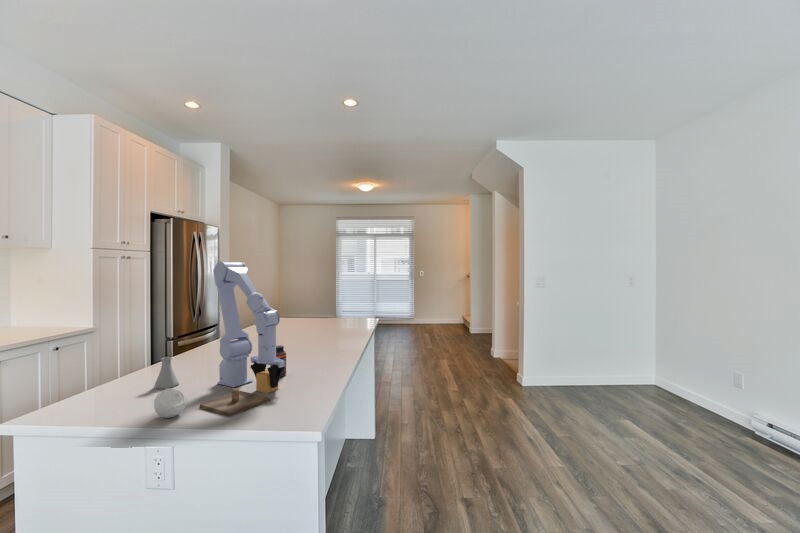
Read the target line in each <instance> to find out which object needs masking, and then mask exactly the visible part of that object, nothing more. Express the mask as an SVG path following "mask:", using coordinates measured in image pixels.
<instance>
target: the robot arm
mask: <svg viewBox="0 0 800 533" xmlns="http://www.w3.org/2000/svg"><path fill="white" fill-rule="evenodd" d="M212 273H213V278H214V283H215V286H216V290H217V294H218V299H219V304H220V305H219V306H220V311H221V315H222V321H223V326H224V330H225V334H224V335H223V336H222V337H221V338H220V339H219V346H220V347H219V354H220V356H221V358H222V359H221V361H220V363H219V370H218V371H219V381H218V382H217V383H216V384H218V385H221V386H222V385H223V386H227V387H232V388H237V387H239V386H242V385H246V384H248V383H251V382H253V381H254V380H253V379H249V378H248V358H249V357H250V363H252V364H251V365H250V369H251V370H252V372H253V374H254V376H255V378H256V373H259V372H262V371H265V370H268V372H269V375H270V383H271V388H275V387H277V385H278V386H279V381H280V379H281V377H280V375H281V373H282V371H283V369H284V366H285V361H284V360H281V359H278V358H276V346H277V326H278V325H279V323H280V320H281V318H280V317H281V316H280V314H279V311H278V310H276V309H273V307H270V305H269V303H268V302H267V300H266V299H265V297H264V295H263V294H262V293H260V292H257V291H256V288H255V287H254V285H253V283H252V281H251V279H250V277H249V275H248V273H249V268H248V267H247V265H246V263H245V262H243V261H218V262H216V264H215V266H214V268H213V271H212ZM236 286H238V287H239V288H240V290H241V292H243V294H244V295H245V297H246V301H245V302H246V305H248V308H249V309H250V311H251V313H252V314H253V316H254V319H253V322H254V323H253V324H254V326H255V327H256V332H257V343H258V344H257V346H258V348H257V349H258V350H257V352H258V355H254V356H250V354H251V353H252V351H253V344H252V341H251V339H250V336H249V333H247V332H245V330H242V326H241V321H240V315H239V310H238V305H237V304H238V303H237V300H236V296H235V287H236ZM270 365H272V367H270ZM267 366H269V367H267ZM266 367H267V369H266Z"/></svg>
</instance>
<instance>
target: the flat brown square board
mask: <svg viewBox="0 0 800 533" xmlns="http://www.w3.org/2000/svg"><path fill="white" fill-rule="evenodd" d="M270 400H271V399H270V397H268V396H264V395H259V394H257V393H251V392H248V391H247V392H246V391H242V390H240V388H237V387H234V388H232V389H231V393H229V394H226V395H223V396H220V397H217V398H214V399H211V400H208V401H205V402H202V403H200V404H199V408H200V409H203V410H206V411H209V412H213V413H217V414H221V415H224V416H228V417H232V416H236V415H237V414H240V413H242V412H243V413H244V412H245V411H248V410H250V409H253V408H255V407H257V406H260V405H263V404H265V403H268V402H270Z"/></svg>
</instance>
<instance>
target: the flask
mask: <svg viewBox="0 0 800 533" xmlns="http://www.w3.org/2000/svg"><path fill="white" fill-rule="evenodd" d="M160 360H161V366H160V367H161V368H160V370H159V374H158V376H157V379H156V381H155V383H154V385H153V388H154V389H157V390H165V389H167V388H174V387H176V386H179V385H180V383H179V381H178V379H177V376H176V374H175V372H174V370H173V366H172V360H173V357H169V356H166V357H162V358H160Z"/></svg>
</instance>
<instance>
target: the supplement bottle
mask: <svg viewBox="0 0 800 533" xmlns="http://www.w3.org/2000/svg"><path fill="white" fill-rule="evenodd" d="M284 347H285V346H284V345H281V344H280V345H276V358H278V359H281V360H284V361H285V366H284V369H283V371H282V373H281V375H280V378H281V377H284V376H286V375H287V353H286V351H285V350H284ZM269 367H272V365H269Z"/></svg>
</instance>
